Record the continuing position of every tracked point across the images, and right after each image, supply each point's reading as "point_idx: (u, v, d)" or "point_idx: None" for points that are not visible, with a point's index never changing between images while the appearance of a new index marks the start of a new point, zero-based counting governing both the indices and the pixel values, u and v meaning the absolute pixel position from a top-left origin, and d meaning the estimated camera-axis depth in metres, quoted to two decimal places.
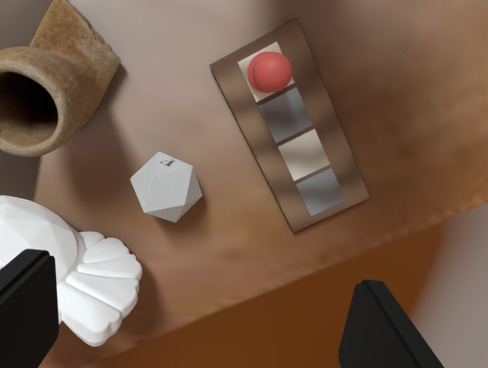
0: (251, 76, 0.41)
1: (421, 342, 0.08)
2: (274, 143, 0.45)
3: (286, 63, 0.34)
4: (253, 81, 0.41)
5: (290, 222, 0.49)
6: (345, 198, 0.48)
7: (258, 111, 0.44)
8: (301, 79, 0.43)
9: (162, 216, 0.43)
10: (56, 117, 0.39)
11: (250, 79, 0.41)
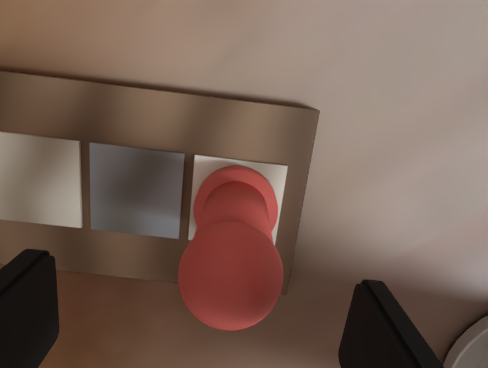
0: (248, 180, 0.18)
1: (421, 342, 0.08)
2: (92, 138, 0.19)
3: None
4: (236, 178, 0.18)
5: None
6: None
7: (174, 147, 0.19)
8: None
9: None
10: None
11: (243, 175, 0.18)
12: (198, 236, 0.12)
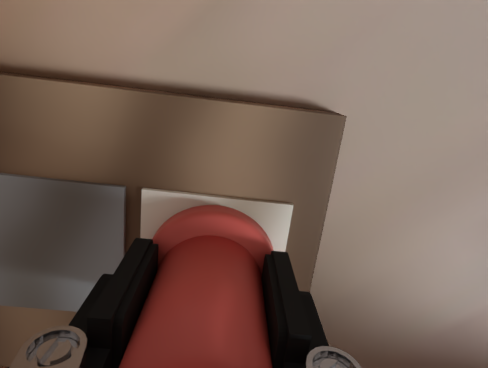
0: (228, 233, 0.11)
1: (296, 298, 0.09)
2: None
3: None
4: (209, 230, 0.11)
5: None
6: None
7: (108, 176, 0.12)
8: None
9: None
10: None
11: (221, 225, 0.11)
12: None
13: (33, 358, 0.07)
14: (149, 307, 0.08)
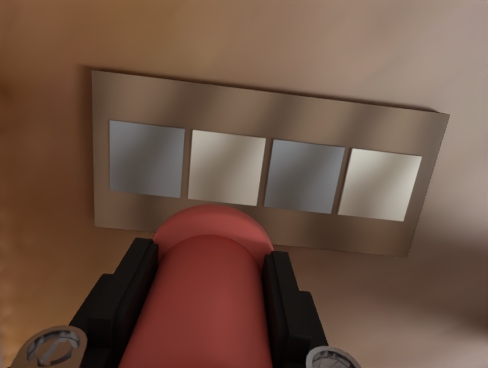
0: (228, 232, 0.11)
1: (296, 298, 0.09)
2: (275, 136, 0.25)
3: None
4: (209, 229, 0.11)
5: (116, 76, 0.24)
6: (112, 190, 0.26)
7: (337, 142, 0.25)
8: (334, 224, 0.27)
9: None
10: None
11: (221, 224, 0.11)
12: None
13: (33, 358, 0.07)
14: (149, 307, 0.08)
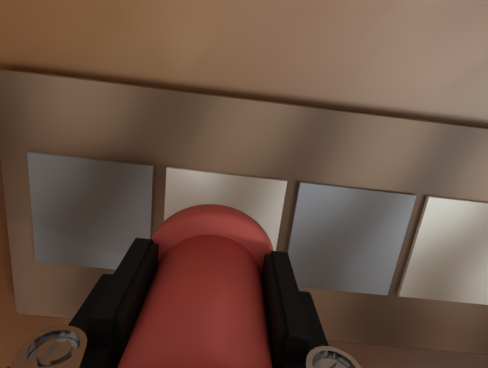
0: (228, 232, 0.11)
1: (296, 298, 0.09)
2: (302, 177, 0.15)
3: None
4: (208, 229, 0.11)
5: (33, 80, 0.14)
6: (41, 260, 0.16)
7: (403, 187, 0.15)
8: (391, 309, 0.18)
9: None
10: None
11: (221, 224, 0.11)
12: None
13: (33, 358, 0.07)
14: (148, 307, 0.08)
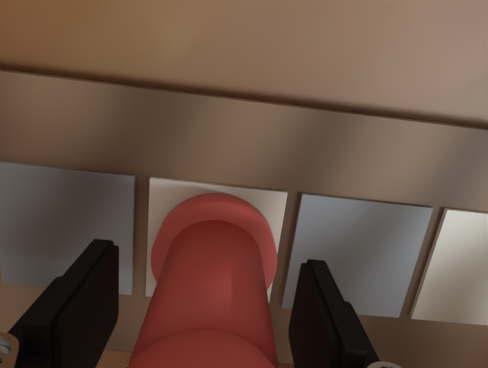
0: (232, 218, 0.12)
1: (344, 310, 0.08)
2: (305, 188, 0.13)
3: None
4: (214, 215, 0.12)
5: None
6: (9, 282, 0.14)
7: (418, 198, 0.14)
8: (402, 332, 0.16)
9: None
10: None
11: (225, 210, 0.12)
12: None
13: None
14: (164, 280, 0.10)
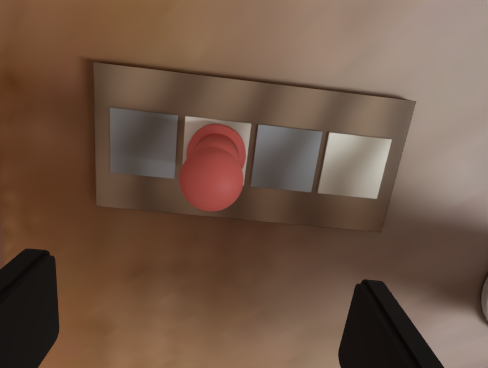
0: (224, 132, 0.27)
1: (421, 342, 0.08)
2: (259, 121, 0.28)
3: (212, 209, 0.20)
4: (216, 131, 0.27)
5: (115, 68, 0.26)
6: (112, 172, 0.29)
7: (315, 127, 0.28)
8: (314, 202, 0.30)
9: None
10: None
11: (221, 128, 0.27)
12: (191, 155, 0.21)
13: None
14: (196, 147, 0.24)
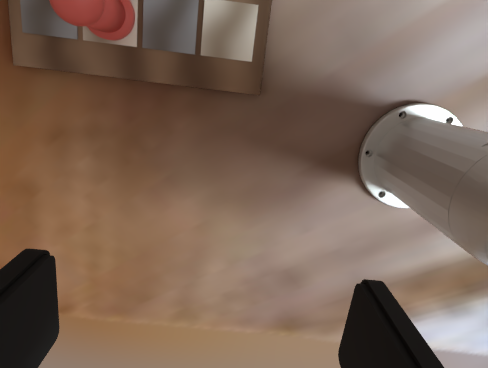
0: None
1: (421, 342, 0.08)
2: None
3: (73, 16, 0.26)
4: None
5: None
6: (25, 33, 0.34)
7: None
8: (199, 64, 0.36)
9: None
10: None
11: None
12: None
13: None
14: None
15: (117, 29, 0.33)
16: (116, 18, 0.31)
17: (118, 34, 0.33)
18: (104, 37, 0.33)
